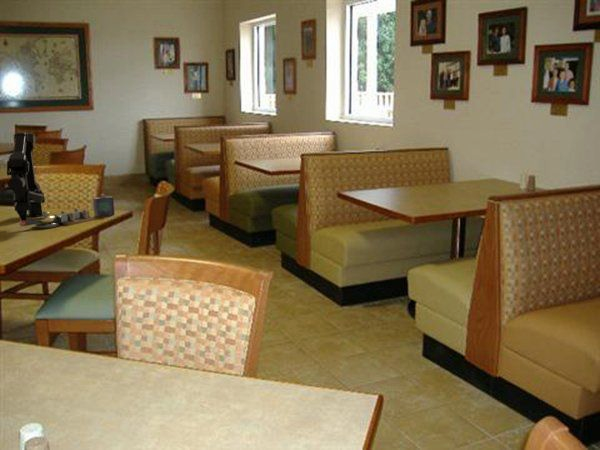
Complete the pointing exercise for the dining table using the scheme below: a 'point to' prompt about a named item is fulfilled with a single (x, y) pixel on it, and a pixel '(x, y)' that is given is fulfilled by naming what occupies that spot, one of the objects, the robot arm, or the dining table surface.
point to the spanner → (69, 216)
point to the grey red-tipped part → (38, 220)
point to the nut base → (47, 226)
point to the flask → (103, 206)
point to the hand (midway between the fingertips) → (24, 222)
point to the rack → (75, 221)
